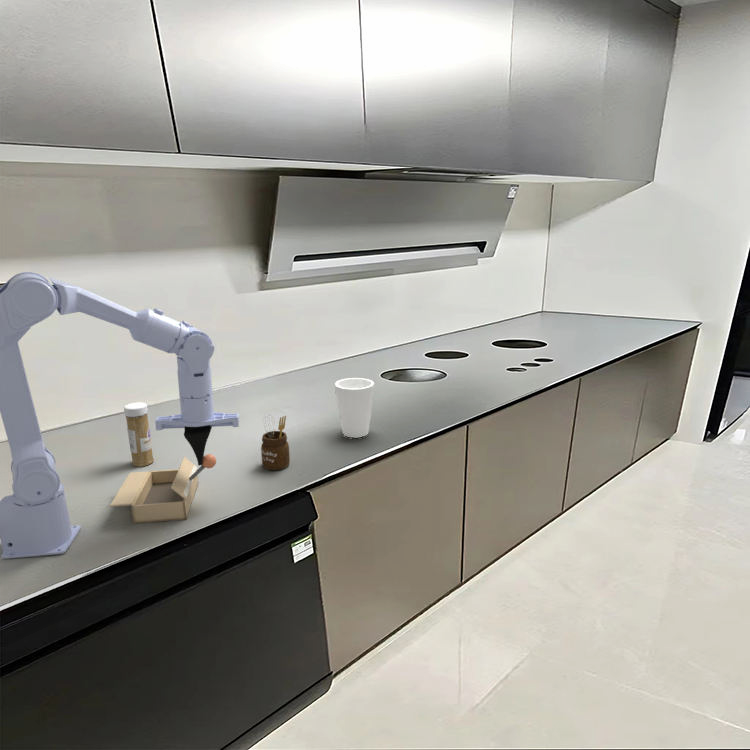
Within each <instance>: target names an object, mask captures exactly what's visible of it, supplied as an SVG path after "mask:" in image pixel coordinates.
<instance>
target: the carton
mask: <svg viewBox="0 0 750 750" xmlns="http://www.w3.org/2000/svg"><path fill="white" fill-rule="evenodd" d="M178 470H179V468H177V469H176V468H175V469H163V470H162V469H161V470H151V471H136V472H134V471H133V472H129V474H128V475H127V476H126V478H125V480H124V482H123V484H122V485H121V487H120V488H119V490H118V492H117V493H116V495H115V497H113V500H112V502H111V503H110V504H109V506H110V507H111V508H113V507H124V506H130V508H131V514H132V520H133V521H132V522H133V524H134V525H136V524H147V523H158V522H159V523H160V522H171V521H183V520H186V521H187V519H188V518H189V517H188V516H189V514H190V510H191V508H190V507H192V505H193V502H192V501H193V500H194V499H195V495H196V492H197V489H198V486H199V476H198V475H199V474H198V475H197V476H196V477H195V478H194V479H193V481H192V484H191V487H190V490H189V493H188V496H187V498H186V499H184V498H183V497H181V496H180V495H179V494H178V493H176V492H175V491H174V490H173V489H171V486H172V484H173V482H174V479H175V477H176V475H177V472H178ZM197 470H198V469H197ZM197 470H196V471H197ZM191 504H192V505H191ZM188 513H189V514H188Z"/></svg>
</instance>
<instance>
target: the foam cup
mask: <svg viewBox="0 0 750 750" xmlns="http://www.w3.org/2000/svg"><path fill="white" fill-rule="evenodd" d="M334 394H335V395H336V402H337V407H338V414H339V415H338V416H339V420H340V426H341V427H340V428H341V431H342V435H343V434H344V435H345V436H347V437H362V436H365V435H367V434H368V435H369V431H370V424H371V418H372V417H371V416H372V409H373V408H372V407H373V398H374V394H375V382H374V381H373V380H371V379H368V378H361V377H350V378H349V377H348V378H342V379H340V380H339V379H338V380H336V382H335V383H334ZM344 435H343V436H344ZM368 435H367V436H368ZM345 436H344V437H345ZM347 437H346V438H347Z"/></svg>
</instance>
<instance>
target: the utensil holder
mask: <svg viewBox="0 0 750 750" xmlns="http://www.w3.org/2000/svg"><path fill="white" fill-rule="evenodd" d="M265 417H266V418H267V420H268V421H269V422H271V421H272V422H271V423H272V425H274V424H275V421H273V420H275V419H274V417H273V416H272V415H271V414H266V415H265ZM266 418H263V420H262V421H263V424H266V423H267V422H266V421H267V420H266ZM286 419H287V416H286V415H284V416H281V417H279V422H278V430H276V429H273V430H271V428H272V427H271V424H270V423H268V426H269V424H270V426H269V428H268V427H267V425H265V426H264V429H265V431H266V432H265V433H263V434H262V438H261V440H262V441H261V442H262V443H261V447H260V452H261V463H262V466H263V468H264V469H266V470H267V471H268V470H269V471H281V470H283V469H285V468H287V467H288V466H289V465H290V461H291V459H290V445H289V442H288V441H287V440H288V437H287V433H286V432H284V431H283V430H284V429H285V428H286Z"/></svg>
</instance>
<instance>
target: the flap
mask: <svg viewBox="0 0 750 750" xmlns="http://www.w3.org/2000/svg"><path fill="white" fill-rule="evenodd" d="M202 464H203V465H200V467H199V468H198V465H195V464H194V462H192V461H191V460H189V459H188V458H187V457H186V456H184V457H183V459H182V461H181V463H180V466H179V467H178V469H179V470H178V472H177V475H176V477H175V479H174V482H173V484H172V486H171V489H173V490H174V491H175V492H176V493H178V494H179V495H180V496H181V497H183V498H184V499H186V498H187V496H188V493H189V490H190V487H191V484H192V481H193V479H194V478H195V477H196V476H197V475H199V474H200V473H201V472H202V471H203V470H205V469H212V468H215V466H216V464H217V459H216V457H215V455H213V454H211V453H210V454H206V455H205V454H204V457H203V460H202ZM196 470H197V471H196Z"/></svg>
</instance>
